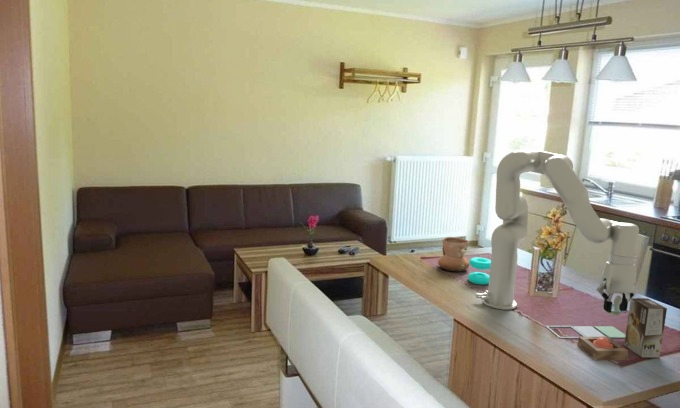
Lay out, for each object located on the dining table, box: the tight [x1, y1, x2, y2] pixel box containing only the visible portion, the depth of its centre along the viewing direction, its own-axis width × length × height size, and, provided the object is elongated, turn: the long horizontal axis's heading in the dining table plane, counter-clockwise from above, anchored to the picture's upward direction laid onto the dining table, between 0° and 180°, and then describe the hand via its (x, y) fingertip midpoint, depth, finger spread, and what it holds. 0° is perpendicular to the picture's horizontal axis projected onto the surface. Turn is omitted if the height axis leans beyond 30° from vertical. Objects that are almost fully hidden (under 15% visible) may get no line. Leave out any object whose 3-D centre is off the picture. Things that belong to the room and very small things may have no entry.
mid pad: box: [572, 325, 607, 337], centre depth 176 cm, size 7×9×1 cm
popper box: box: [577, 336, 629, 361], centre depth 161 cm, size 10×10×3 cm
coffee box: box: [623, 297, 668, 358], centre depth 162 cm, size 9×6×16 cm
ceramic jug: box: [437, 236, 471, 272], centre depth 243 cm, size 18×14×14 cm
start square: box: [545, 325, 586, 340], centre depth 175 cm, size 10×10×1 cm
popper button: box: [593, 337, 613, 348], centre depth 161 cm, size 6×6×4 cm
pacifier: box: [602, 295, 627, 317], centre depth 175 cm, size 7×6×6 cm
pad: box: [593, 325, 626, 339], centre depth 177 cm, size 7×9×1 cm
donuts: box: [467, 256, 491, 286], centre depth 225 cm, size 10×10×10 cm
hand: (614, 310), depth 176 cm, fingers closed on pacifier, 4 cm apart
